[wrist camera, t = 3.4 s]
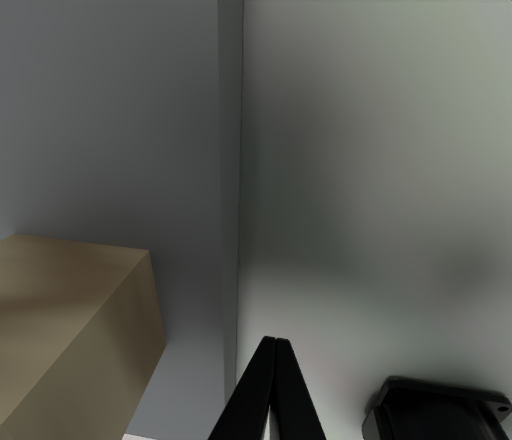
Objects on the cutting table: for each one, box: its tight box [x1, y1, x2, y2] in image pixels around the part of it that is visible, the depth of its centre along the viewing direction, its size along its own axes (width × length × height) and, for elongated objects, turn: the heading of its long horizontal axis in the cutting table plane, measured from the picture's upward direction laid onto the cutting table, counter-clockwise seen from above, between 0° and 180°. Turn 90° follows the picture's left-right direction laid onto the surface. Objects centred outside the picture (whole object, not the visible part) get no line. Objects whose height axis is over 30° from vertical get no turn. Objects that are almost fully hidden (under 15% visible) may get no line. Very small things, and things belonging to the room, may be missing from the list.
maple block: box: [0, 234, 167, 440], centre depth 8 cm, size 5×5×5 cm
